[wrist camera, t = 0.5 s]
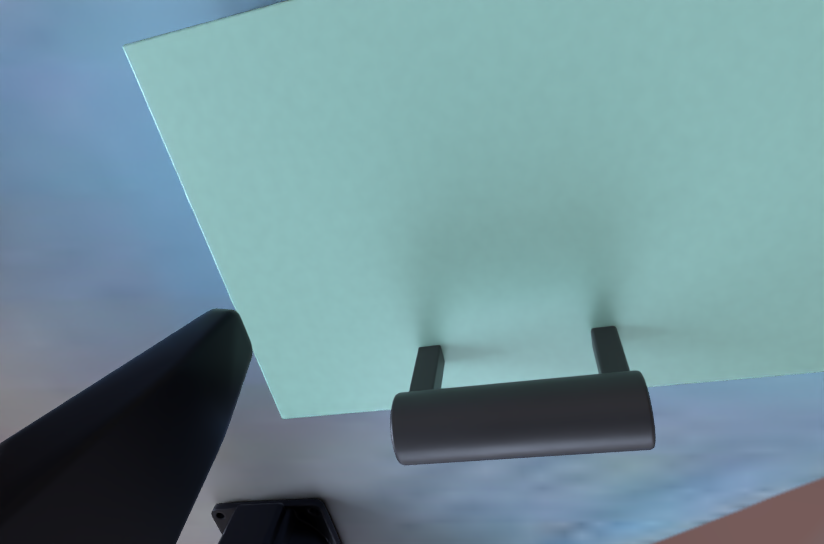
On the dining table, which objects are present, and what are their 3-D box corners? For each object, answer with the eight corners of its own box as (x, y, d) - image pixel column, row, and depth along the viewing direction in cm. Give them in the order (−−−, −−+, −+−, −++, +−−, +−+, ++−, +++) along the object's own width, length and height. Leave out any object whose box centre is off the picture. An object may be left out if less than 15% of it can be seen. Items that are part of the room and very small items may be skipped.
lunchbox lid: (813, 357, 16) (920, 489, 12) (288, 405, 20) (233, 519, 16) (863, -156, 11) (1081, -231, 7) (136, 42, 15) (-6, 71, 11)
